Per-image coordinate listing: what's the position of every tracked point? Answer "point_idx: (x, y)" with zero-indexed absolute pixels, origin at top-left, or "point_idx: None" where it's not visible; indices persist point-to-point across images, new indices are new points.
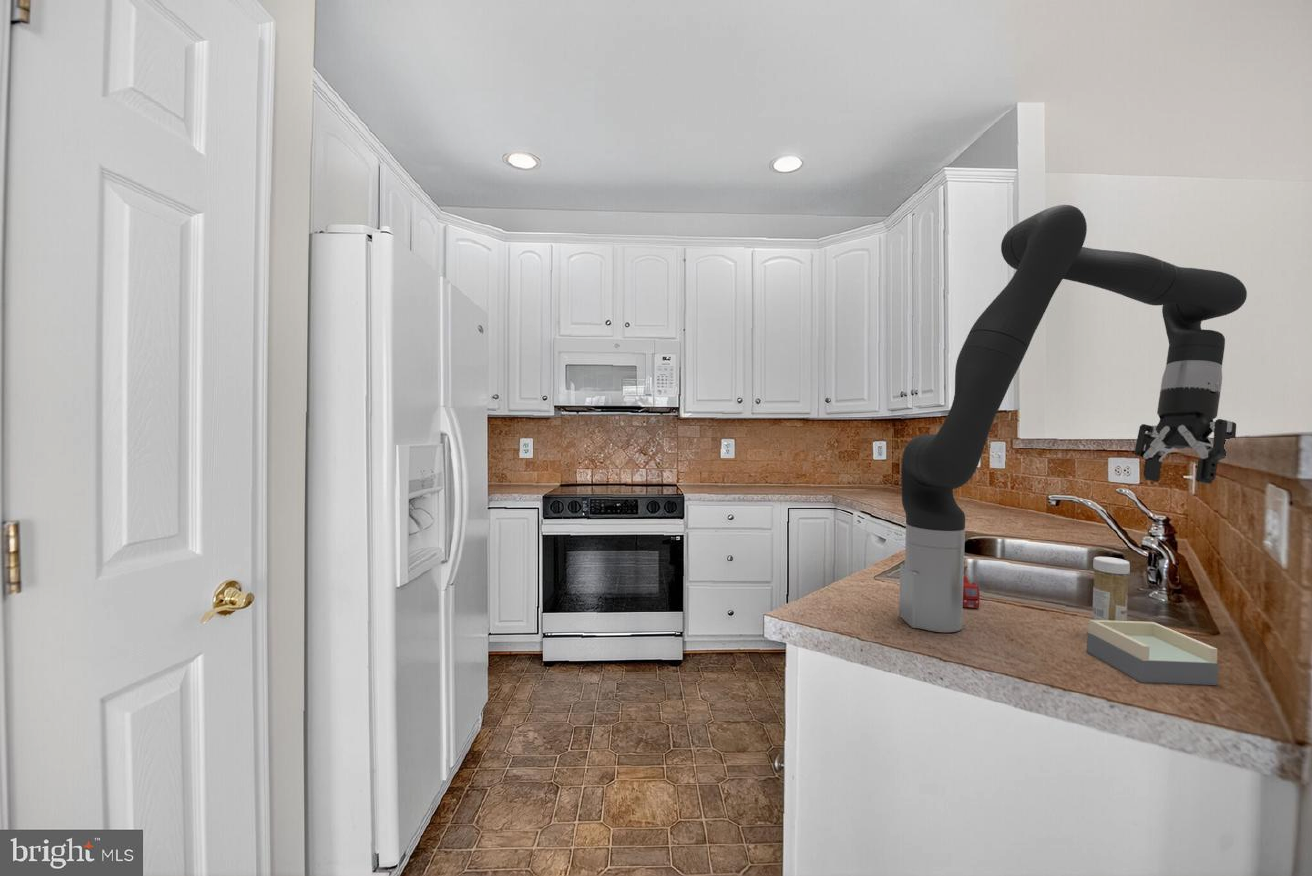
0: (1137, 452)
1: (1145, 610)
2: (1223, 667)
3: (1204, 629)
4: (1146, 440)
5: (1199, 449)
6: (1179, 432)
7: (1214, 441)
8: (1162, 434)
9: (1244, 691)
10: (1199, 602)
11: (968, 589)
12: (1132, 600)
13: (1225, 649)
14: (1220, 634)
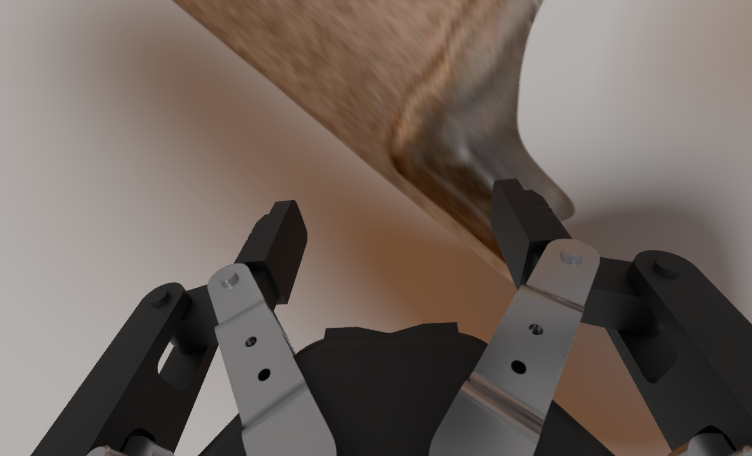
0: (661, 261)
1: (493, 152)
2: (278, 55)
3: (411, 165)
4: (694, 384)
5: (241, 303)
6: (370, 442)
7: (139, 351)
8: (500, 399)
9: (205, 6)
10: None
11: None
12: (542, 175)
13: (341, 122)
14: (394, 169)
